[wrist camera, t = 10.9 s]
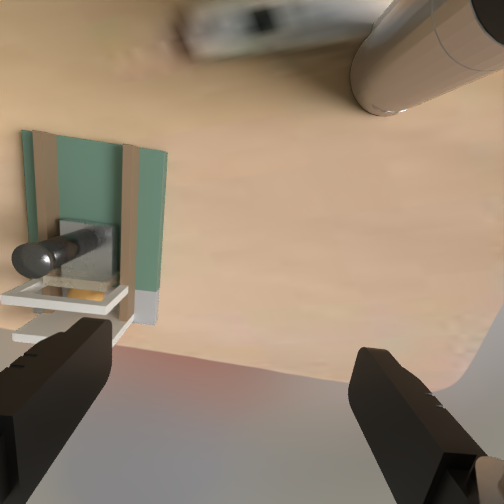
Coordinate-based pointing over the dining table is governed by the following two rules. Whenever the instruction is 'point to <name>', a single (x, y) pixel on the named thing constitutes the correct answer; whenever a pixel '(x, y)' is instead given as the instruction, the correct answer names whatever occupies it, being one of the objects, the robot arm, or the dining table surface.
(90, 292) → the ball
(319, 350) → the dining table surface
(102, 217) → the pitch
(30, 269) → the slider
